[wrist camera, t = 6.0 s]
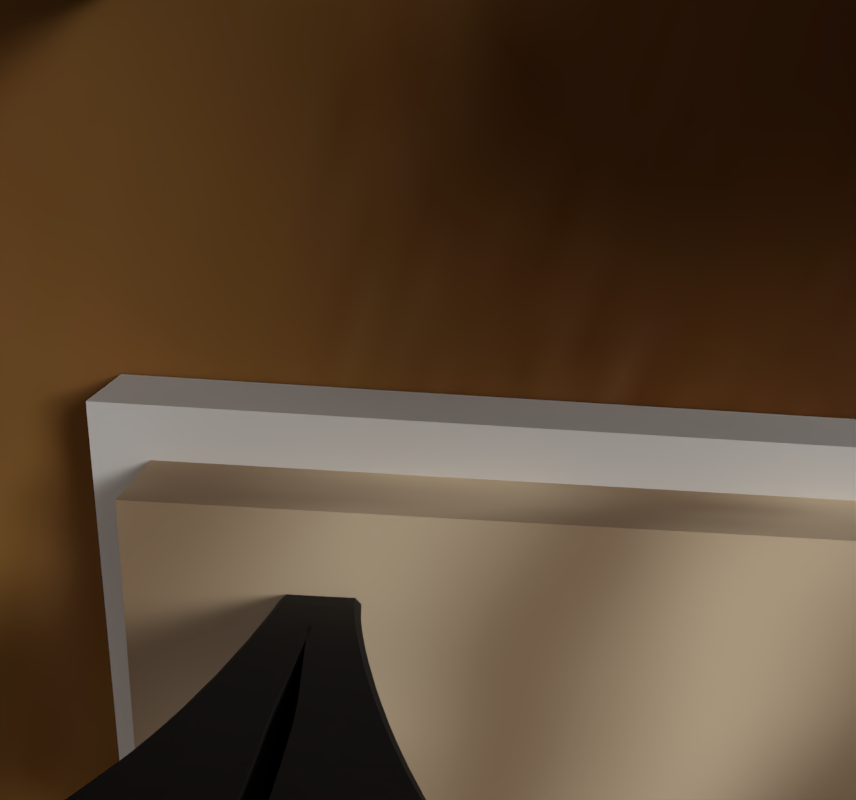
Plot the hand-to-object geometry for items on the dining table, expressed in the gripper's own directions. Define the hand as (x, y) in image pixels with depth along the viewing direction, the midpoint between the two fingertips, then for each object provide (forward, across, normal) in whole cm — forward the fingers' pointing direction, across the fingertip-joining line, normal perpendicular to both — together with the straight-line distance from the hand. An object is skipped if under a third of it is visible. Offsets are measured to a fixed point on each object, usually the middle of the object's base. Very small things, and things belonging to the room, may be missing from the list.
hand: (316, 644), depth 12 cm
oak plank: (+1, -4, +2) cm, 5 cm away
